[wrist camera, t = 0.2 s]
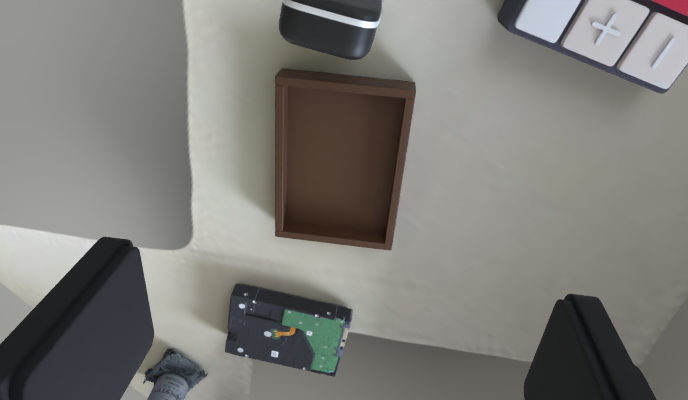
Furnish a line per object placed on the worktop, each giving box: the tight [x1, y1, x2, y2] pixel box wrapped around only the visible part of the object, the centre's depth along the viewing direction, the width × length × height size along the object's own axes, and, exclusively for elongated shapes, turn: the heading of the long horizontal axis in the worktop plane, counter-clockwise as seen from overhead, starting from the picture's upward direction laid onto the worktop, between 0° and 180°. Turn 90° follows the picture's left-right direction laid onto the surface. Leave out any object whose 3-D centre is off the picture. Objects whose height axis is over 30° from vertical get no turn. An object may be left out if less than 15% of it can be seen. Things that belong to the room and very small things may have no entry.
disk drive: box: [225, 284, 352, 376], centre depth 61 cm, size 10×3×15 cm
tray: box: [275, 69, 416, 250], centre depth 49 cm, size 18×13×3 cm
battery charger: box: [279, 0, 383, 60], centre depth 37 cm, size 7×4×11 cm, turn 76°
